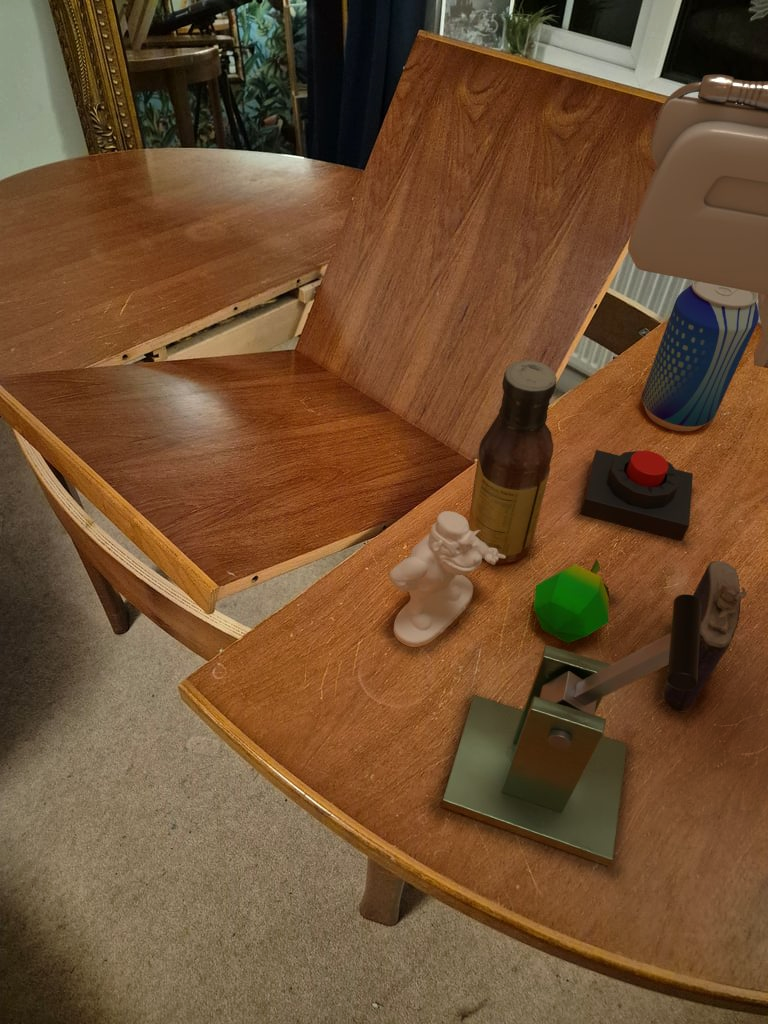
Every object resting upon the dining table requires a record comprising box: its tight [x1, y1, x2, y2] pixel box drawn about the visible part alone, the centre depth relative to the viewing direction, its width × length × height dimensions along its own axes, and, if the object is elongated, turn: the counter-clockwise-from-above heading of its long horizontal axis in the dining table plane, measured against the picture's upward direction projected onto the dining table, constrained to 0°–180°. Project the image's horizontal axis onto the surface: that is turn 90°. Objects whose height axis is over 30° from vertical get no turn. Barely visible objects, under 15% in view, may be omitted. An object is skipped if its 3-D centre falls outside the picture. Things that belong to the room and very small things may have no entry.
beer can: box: [641, 280, 760, 433], centre depth 81 cm, size 8×8×16 cm
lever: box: [540, 593, 701, 715], centre depth 44 cm, size 12×6×2 cm
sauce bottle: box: [468, 360, 557, 565], centre depth 64 cm, size 6×6×20 cm
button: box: [626, 450, 668, 488], centre depth 73 cm, size 4×4×2 cm
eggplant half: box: [661, 560, 748, 713], centre depth 59 cm, size 9×3×11 cm, turn 157°
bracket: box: [440, 644, 628, 867], centre depth 50 cm, size 12×9×13 cm
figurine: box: [389, 510, 506, 648], centre depth 61 cm, size 9×7×12 cm
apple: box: [533, 559, 611, 644], centre depth 64 cm, size 7×6×9 cm
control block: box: [580, 449, 694, 542], centre depth 75 cm, size 10×8×4 cm
